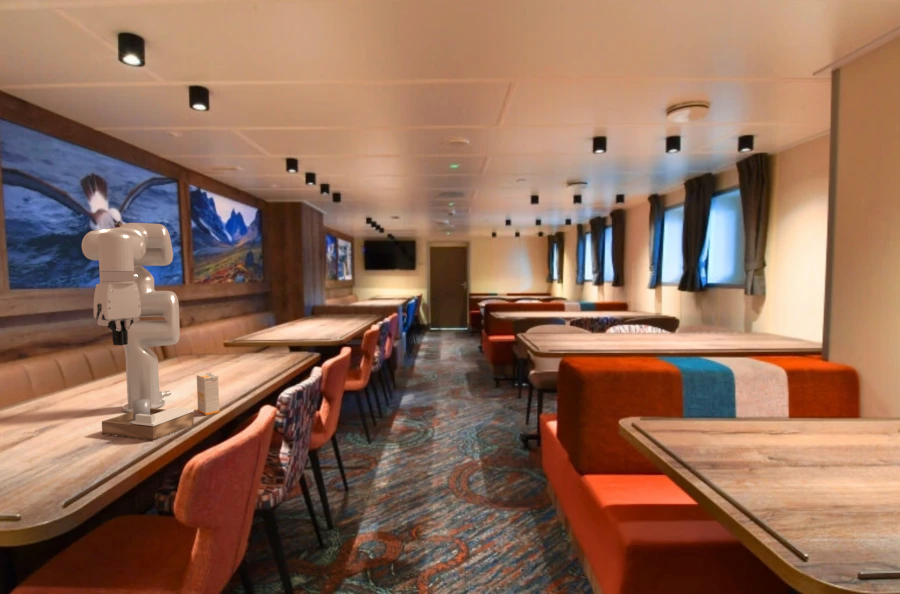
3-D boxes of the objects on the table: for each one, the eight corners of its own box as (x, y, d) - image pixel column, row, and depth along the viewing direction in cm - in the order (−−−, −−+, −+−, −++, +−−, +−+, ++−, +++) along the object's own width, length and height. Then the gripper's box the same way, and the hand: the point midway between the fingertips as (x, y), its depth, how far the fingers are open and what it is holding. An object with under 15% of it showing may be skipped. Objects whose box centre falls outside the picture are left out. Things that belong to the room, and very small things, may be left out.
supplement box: (220, 412, 151) (219, 375, 151) (205, 415, 148) (204, 378, 147) (212, 407, 157) (210, 372, 156) (197, 410, 153) (196, 374, 153)
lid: (174, 409, 141) (173, 401, 141) (193, 411, 139) (193, 403, 139) (132, 423, 128) (132, 414, 128) (153, 426, 126) (153, 417, 126)
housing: (145, 419, 145) (145, 407, 144) (193, 424, 139) (193, 412, 139) (102, 434, 131) (101, 421, 131) (153, 440, 126) (153, 427, 126)
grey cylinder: (139, 421, 140) (138, 397, 140) (157, 423, 138) (156, 398, 138) (122, 427, 135) (121, 402, 134) (140, 429, 133) (139, 404, 132)
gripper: (133, 278, 126) (136, 340, 127) (77, 278, 112) (81, 348, 113) (153, 277, 124) (156, 341, 125) (99, 278, 110) (102, 350, 111)
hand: (120, 344), depth 119 cm, fingers closed
